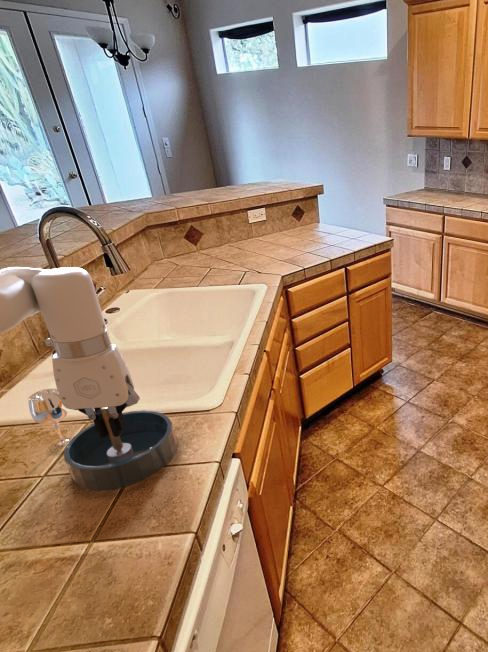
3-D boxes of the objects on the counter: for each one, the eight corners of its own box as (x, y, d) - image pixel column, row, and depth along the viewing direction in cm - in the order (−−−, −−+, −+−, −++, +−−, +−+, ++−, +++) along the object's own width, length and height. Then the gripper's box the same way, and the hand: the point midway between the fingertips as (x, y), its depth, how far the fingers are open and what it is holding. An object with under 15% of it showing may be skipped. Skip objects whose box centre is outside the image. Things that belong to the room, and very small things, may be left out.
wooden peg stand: (105, 464, 79) (87, 415, 75) (114, 450, 83) (98, 403, 78) (128, 462, 80) (112, 414, 75) (136, 448, 83) (121, 401, 79)
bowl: (53, 498, 75) (42, 474, 73) (100, 435, 91) (92, 414, 88) (160, 487, 78) (153, 464, 75) (188, 428, 93) (182, 407, 91)
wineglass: (39, 450, 86) (17, 400, 81) (67, 433, 91) (48, 384, 86) (60, 456, 85) (38, 405, 79) (87, 438, 90) (69, 390, 84)
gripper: (16, 356, 67) (55, 449, 75) (124, 350, 69) (151, 442, 77) (44, 336, 73) (77, 424, 81) (142, 331, 76) (165, 417, 84)
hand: (113, 432), depth 79 cm, fingers closed on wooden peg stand, 1 cm apart
